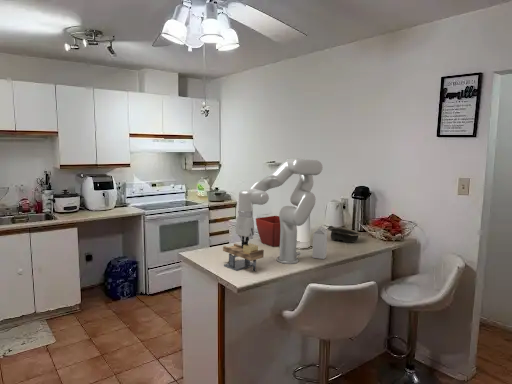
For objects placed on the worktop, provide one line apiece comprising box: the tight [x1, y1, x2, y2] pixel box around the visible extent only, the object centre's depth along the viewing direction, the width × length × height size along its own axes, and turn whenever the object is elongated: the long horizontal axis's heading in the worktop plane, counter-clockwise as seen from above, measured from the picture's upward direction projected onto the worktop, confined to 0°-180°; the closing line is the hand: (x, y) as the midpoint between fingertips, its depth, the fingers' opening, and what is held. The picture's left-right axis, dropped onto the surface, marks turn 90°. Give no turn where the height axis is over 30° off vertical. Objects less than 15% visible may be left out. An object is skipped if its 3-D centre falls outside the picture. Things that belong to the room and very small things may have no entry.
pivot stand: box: [223, 253, 257, 272], centre depth 192 cm, size 21×14×7 cm
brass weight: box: [243, 242, 259, 254], centre depth 186 cm, size 6×5×5 cm
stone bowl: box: [326, 225, 363, 244], centre depth 256 cm, size 25×25×9 cm
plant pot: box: [255, 215, 280, 248], centre depth 241 cm, size 19×19×17 cm
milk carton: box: [311, 224, 328, 260], centre depth 213 cm, size 7×7×19 cm
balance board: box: [222, 243, 265, 262], centre depth 191 cm, size 22×9×4 cm, turn 45°
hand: (244, 248), depth 190 cm, fingers closed
